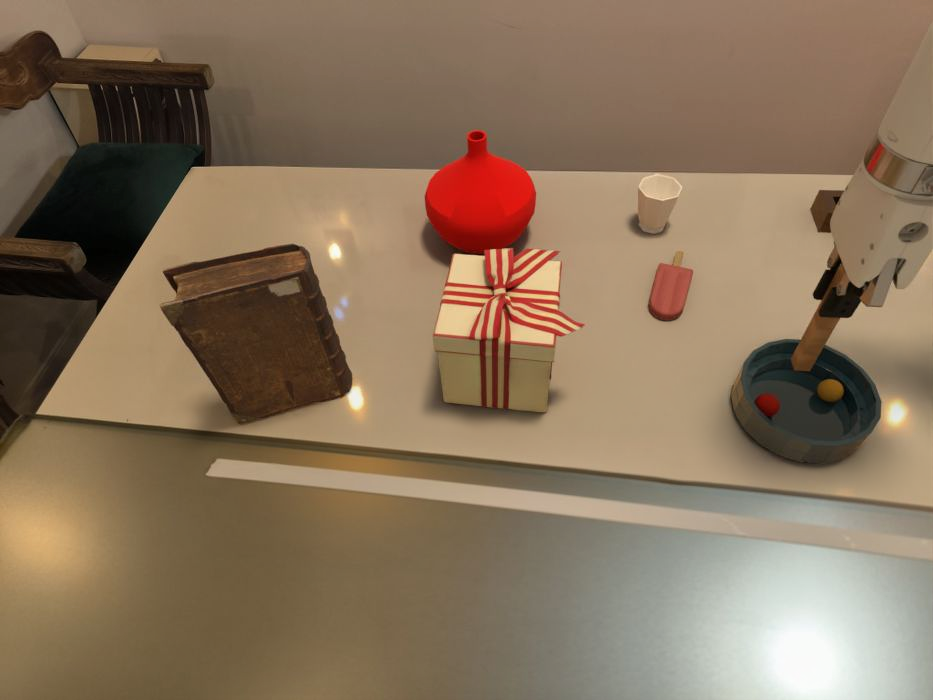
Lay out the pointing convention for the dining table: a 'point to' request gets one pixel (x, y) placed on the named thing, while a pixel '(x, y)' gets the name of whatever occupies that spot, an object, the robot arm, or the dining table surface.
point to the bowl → (806, 403)
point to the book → (259, 330)
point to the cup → (656, 201)
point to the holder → (825, 208)
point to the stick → (816, 333)
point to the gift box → (500, 328)
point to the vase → (480, 199)
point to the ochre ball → (830, 390)
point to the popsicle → (670, 289)
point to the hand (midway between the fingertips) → (831, 305)
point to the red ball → (767, 404)
